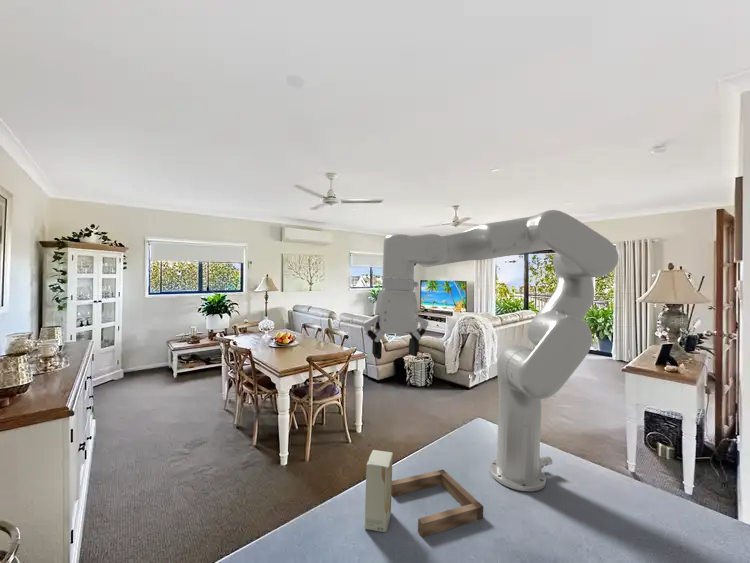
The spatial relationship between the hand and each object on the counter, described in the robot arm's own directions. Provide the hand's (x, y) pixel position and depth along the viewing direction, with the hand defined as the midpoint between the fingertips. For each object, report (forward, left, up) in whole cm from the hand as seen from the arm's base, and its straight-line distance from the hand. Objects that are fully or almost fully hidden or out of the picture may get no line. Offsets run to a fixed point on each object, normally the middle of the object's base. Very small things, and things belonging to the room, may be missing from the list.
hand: (395, 356), depth 84 cm
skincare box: (+10, +14, -28) cm, 33 cm away
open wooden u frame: (-3, +14, -28) cm, 32 cm away
